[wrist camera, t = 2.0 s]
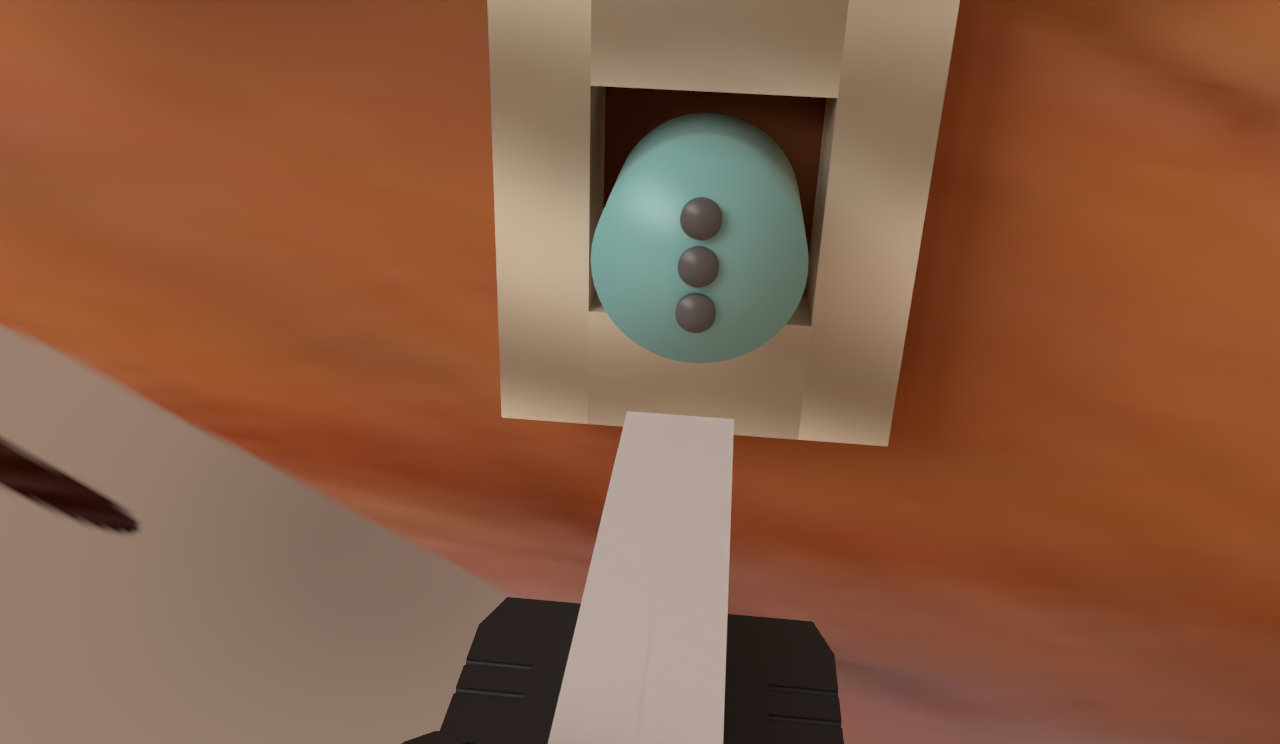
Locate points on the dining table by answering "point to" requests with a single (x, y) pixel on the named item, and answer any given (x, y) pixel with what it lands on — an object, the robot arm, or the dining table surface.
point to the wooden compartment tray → (842, 222)
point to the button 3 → (702, 240)
